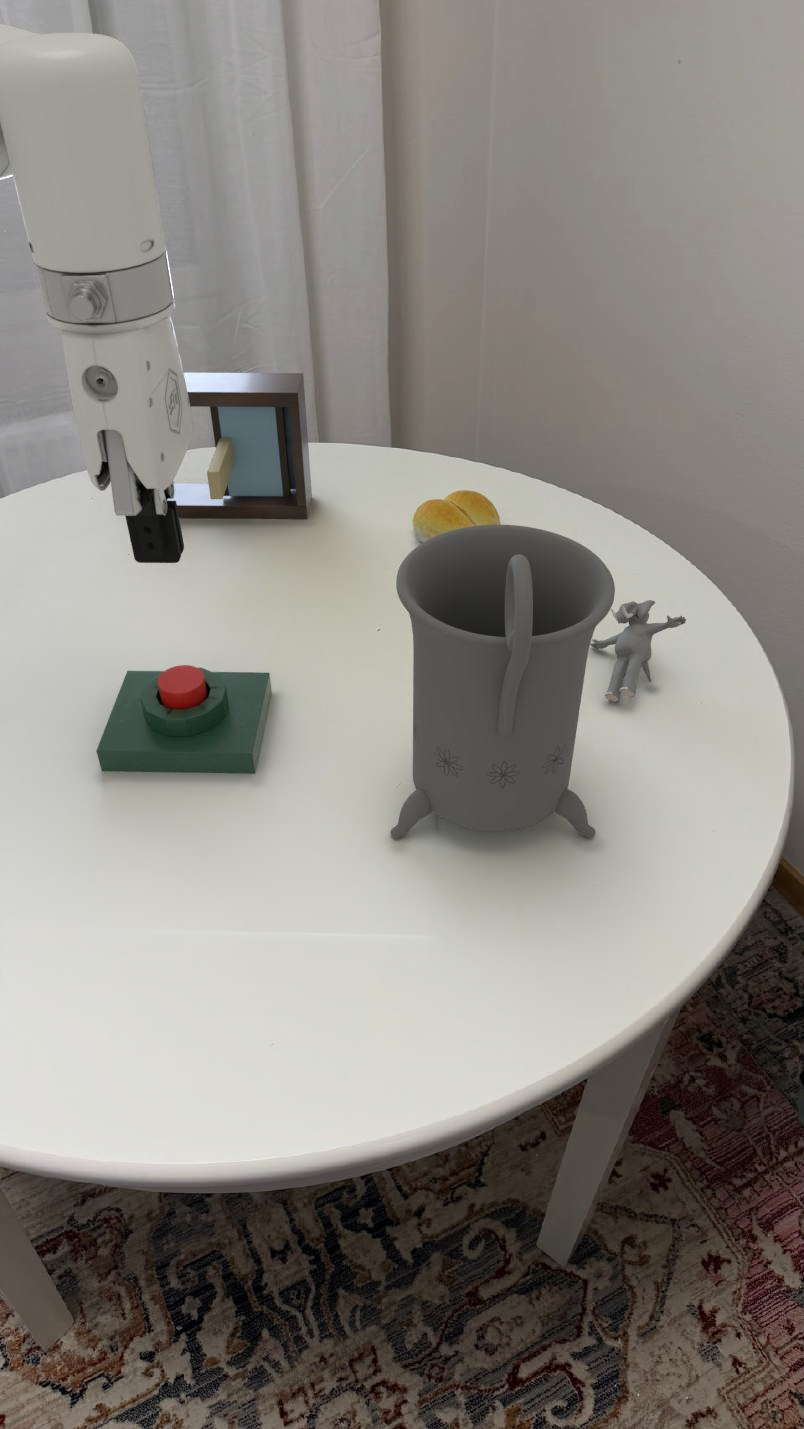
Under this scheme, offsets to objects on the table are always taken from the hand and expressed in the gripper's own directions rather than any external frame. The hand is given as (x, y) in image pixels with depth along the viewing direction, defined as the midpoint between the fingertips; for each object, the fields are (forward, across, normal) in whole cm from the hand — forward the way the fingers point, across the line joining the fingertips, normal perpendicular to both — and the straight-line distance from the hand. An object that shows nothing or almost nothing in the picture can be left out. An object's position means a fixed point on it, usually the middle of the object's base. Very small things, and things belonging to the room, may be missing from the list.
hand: (160, 556), depth 71 cm
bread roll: (+17, +32, -22) cm, 42 cm away
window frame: (+16, +37, +3) cm, 41 cm away
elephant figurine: (+17, +8, -37) cm, 41 cm away
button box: (+16, 0, 0) cm, 17 cm away
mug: (+17, -8, -24) cm, 30 cm away
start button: (+13, 0, 0) cm, 13 cm away
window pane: (+15, +33, 0) cm, 36 cm away
